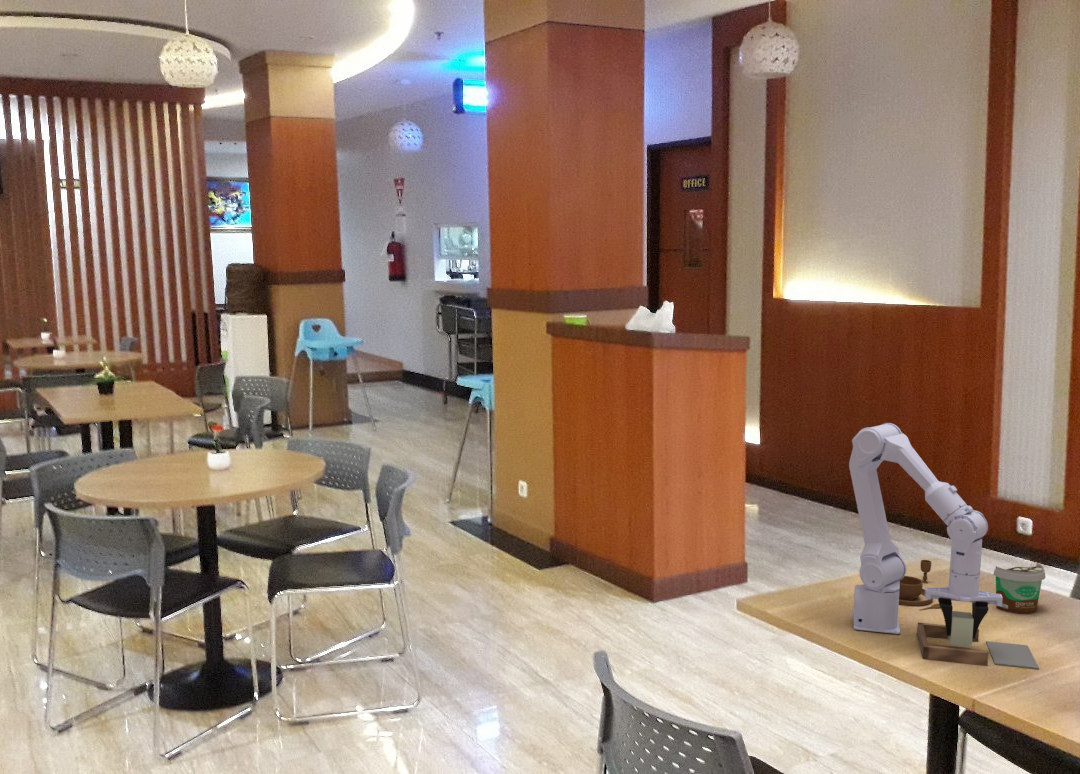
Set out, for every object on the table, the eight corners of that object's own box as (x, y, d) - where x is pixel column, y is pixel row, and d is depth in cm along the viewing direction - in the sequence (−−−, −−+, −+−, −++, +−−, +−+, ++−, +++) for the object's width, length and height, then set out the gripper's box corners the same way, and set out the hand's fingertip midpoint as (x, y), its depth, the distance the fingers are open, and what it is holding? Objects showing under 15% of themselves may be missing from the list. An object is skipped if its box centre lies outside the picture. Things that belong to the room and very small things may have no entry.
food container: (1009, 618, 229) (1012, 574, 228) (990, 608, 235) (993, 566, 234) (1055, 613, 232) (1058, 570, 231) (1035, 604, 238) (1038, 562, 237)
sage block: (950, 645, 209) (952, 617, 208) (948, 638, 213) (950, 610, 212) (971, 647, 208) (973, 619, 207) (969, 640, 212) (971, 612, 211)
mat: (994, 664, 203) (995, 663, 203) (985, 642, 215) (986, 641, 214) (1039, 669, 201) (1039, 667, 201) (1027, 646, 212) (1027, 645, 212)
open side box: (923, 658, 206) (923, 646, 205) (917, 633, 219) (917, 622, 219) (987, 665, 202) (988, 653, 202) (977, 639, 216) (978, 628, 216)
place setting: (859, 591, 247) (861, 567, 247) (923, 581, 255) (924, 558, 255) (913, 615, 232) (914, 590, 231) (978, 603, 240) (980, 579, 239)
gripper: (928, 573, 206) (924, 638, 208) (1006, 580, 202) (1001, 646, 204) (925, 563, 213) (921, 626, 215) (1001, 570, 209) (996, 633, 211)
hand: (960, 635), depth 210 cm, fingers closed on sage block, 4 cm apart
